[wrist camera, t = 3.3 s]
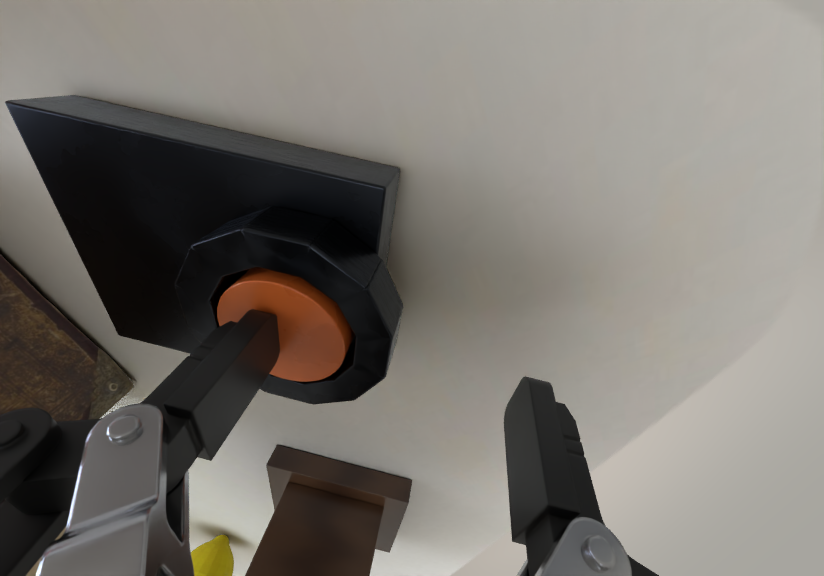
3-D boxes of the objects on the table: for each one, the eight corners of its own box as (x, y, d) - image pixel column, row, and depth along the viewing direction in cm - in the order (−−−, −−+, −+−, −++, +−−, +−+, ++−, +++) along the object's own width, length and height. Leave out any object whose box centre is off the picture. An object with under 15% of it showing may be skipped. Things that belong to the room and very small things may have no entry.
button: (365, 269, 11) (348, 301, 10) (356, 358, 14) (341, 394, 12) (239, 239, 11) (203, 266, 10) (253, 333, 14) (227, 365, 12)
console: (433, 174, 11) (414, 221, 8) (394, 367, 17) (373, 440, 14) (74, 94, 12) (-80, 106, 9) (154, 308, 18) (80, 364, 14)
